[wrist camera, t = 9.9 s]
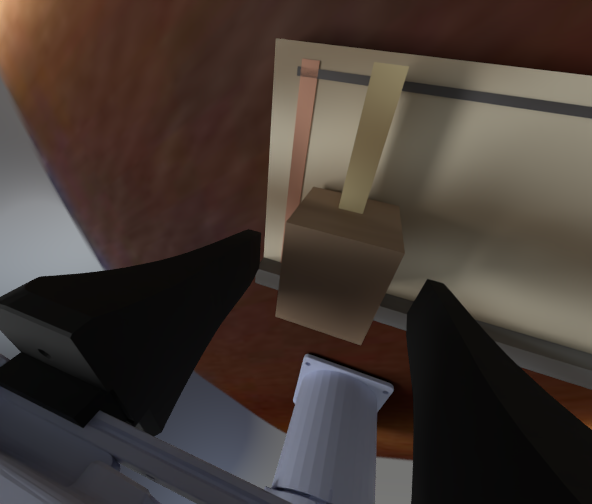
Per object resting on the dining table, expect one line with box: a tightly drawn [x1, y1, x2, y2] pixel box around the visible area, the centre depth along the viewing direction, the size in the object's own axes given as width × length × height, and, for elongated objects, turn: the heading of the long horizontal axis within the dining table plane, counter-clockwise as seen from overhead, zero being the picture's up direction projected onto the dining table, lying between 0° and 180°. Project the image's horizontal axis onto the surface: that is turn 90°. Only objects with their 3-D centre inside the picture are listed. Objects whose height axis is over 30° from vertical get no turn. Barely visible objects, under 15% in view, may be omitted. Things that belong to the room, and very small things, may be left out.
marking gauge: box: [276, 62, 409, 345], centre depth 10 cm, size 10×4×4 cm, turn 173°
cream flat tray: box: [255, 38, 592, 389], centre depth 10 cm, size 12×28×3 cm, turn 83°
